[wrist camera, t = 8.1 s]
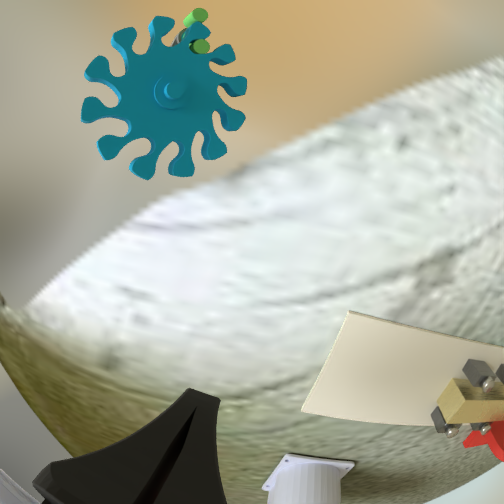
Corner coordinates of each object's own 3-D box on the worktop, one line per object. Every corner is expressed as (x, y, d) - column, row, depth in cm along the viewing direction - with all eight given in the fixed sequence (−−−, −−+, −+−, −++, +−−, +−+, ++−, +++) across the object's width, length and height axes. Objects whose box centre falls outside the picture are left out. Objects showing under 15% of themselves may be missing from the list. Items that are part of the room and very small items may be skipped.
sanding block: (494, 402, 18) (505, 420, 15) (436, 401, 19) (446, 423, 16) (508, 382, 17) (521, 399, 14) (452, 377, 18) (465, 400, 15)
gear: (223, 201, 16) (51, 157, 10) (184, 189, 21) (57, 157, 14) (277, 47, 15) (142, -24, 8) (229, 65, 19) (119, 17, 13)
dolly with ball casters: (478, 414, 19) (489, 434, 15) (430, 414, 19) (440, 438, 16) (513, 364, 17) (528, 382, 14) (468, 358, 17) (485, 380, 14)
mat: (479, 422, 19) (480, 424, 19) (301, 408, 21) (301, 411, 21) (527, 351, 17) (528, 353, 16) (348, 310, 19) (349, 312, 18)
